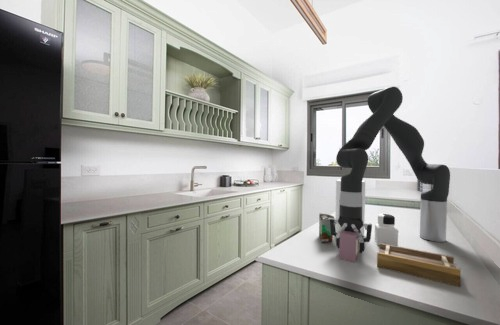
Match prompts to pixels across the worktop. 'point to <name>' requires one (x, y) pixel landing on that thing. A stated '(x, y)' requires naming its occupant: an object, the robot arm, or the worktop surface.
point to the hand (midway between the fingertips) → (349, 249)
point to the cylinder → (338, 190)
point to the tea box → (349, 246)
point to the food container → (325, 228)
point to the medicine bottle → (386, 230)
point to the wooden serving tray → (419, 263)
